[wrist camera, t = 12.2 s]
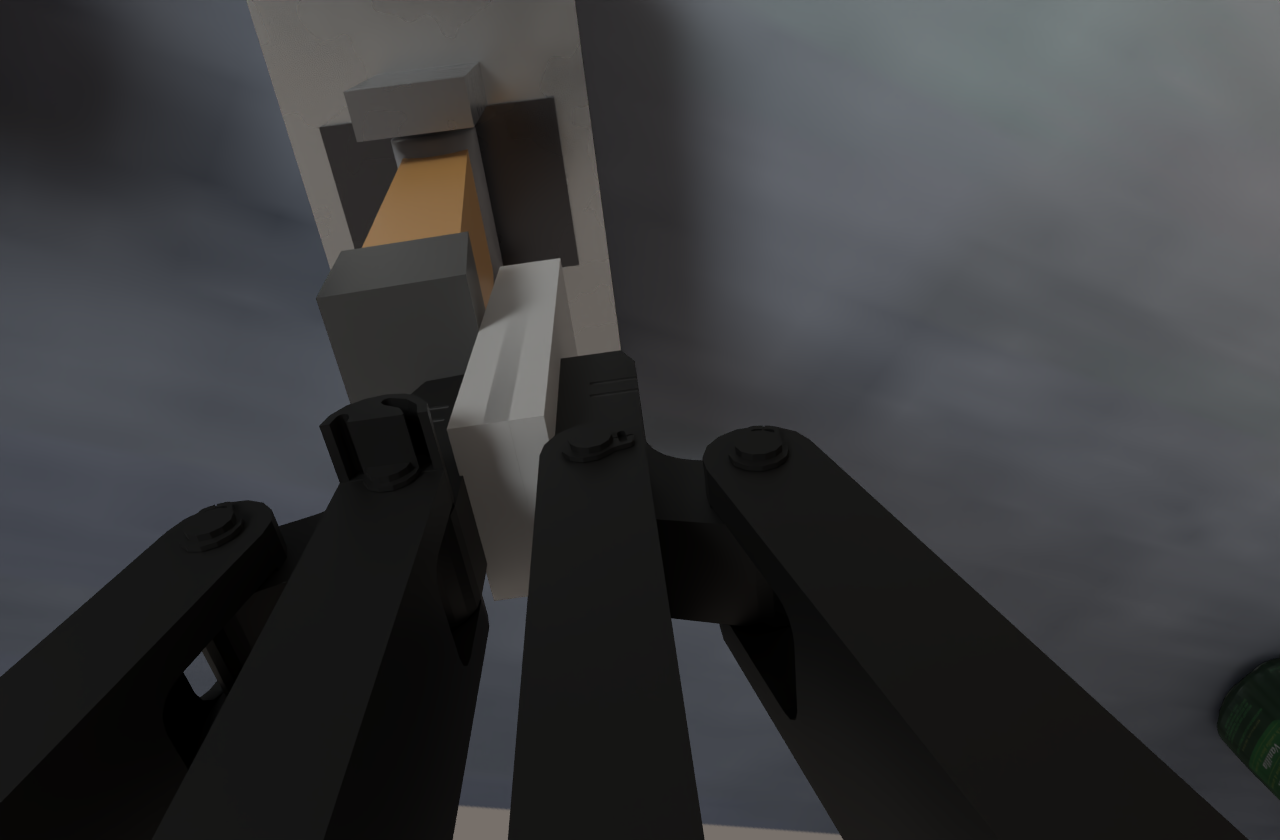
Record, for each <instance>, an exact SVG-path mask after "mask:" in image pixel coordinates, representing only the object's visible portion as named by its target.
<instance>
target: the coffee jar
mask: <svg viewBox="0 0 1280 840" xmlns="http://www.w3.org/2000/svg"><path fill="white" fill-rule="evenodd" d="M1217 728H1218V733H1219V735H1220V737H1221V739H1222V740H1223V741H1224V742H1225V743H1226V744H1227V746H1228V747H1229V748H1230V749H1231V750H1232V751H1233V752H1234V753H1235V754H1236V756H1237V757H1238V758H1239V759H1240V760H1241V761H1242V762H1243V763H1244V764H1245V765H1246V766H1247V767H1248V768H1249V770H1250V771H1251V772H1252V773H1253V774H1254V775H1255V776H1256V777H1257V778H1258V779H1259V780H1260V781H1261V782H1262V783H1263V784H1264V785H1265V786H1266V787H1267V788H1268V789H1269V790H1270V791H1271V792H1272V793H1273V794H1274V795H1275V796H1276V797H1277V798H1278V799H1279V800H1280V658H1278V659H1273V660H1270V661H1267V662H1264V663H1262V664H1261V665H1259V666H1258V667H1257V668H1255V669H1254V670H1253V671H1252V672H1251V673H1250V674H1248V675H1247V676H1246V677H1245V678H1243V679H1242V680H1241V681H1240V682H1239V683H1238V684H1236V685H1234V686H1233V687H1232V689H1231V690H1230V691H1229V693H1228V694H1227V696H1226V697H1225V699H1224V702H1223V704H1222V706H1221V709H1220V712H1219V718H1218V722H1217Z"/></svg>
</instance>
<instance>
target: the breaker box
mask: <svg viewBox="0 0 1280 840" xmlns="http://www.w3.org/2000/svg"><path fill="white" fill-rule="evenodd" d="M246 1H247V4H248V7H249V10H250V14H251V17H252V20H253V23H254V26H255V30H256V33H257V36H258V39H259V42H260V46H261V49H262V52H263V55H264V58H265V62H266V65H267V68H268V71H269V74H270V77H271V81H272V84H273V87H274V90H275V93H276V97H277V100H278V103H279V106H280V109H281V113H282V116H283V119H284V122H285V125H286V129H287V132H288V135H289V138H290V141H291V145H292V148H293V151H294V154H295V157H296V160H297V164H298V167H299V170H300V173H301V176H302V180H303V183H304V186H305V189H306V192H307V196H308V199H309V202H310V205H311V208H312V212H313V215H314V218H315V221H316V224H317V228H318V231H319V234H320V237H321V240H322V243H323V247H324V250H325V253H326V256H327V259H328V263H329V266H330V269H332V267H333V265H334V263H335V261H336V260H337V258H338V256H339V254H340V252H341V251H345V250H352V249H358V248H362V246H363V244H364V242H365V240H366V238H367V235H368V233H369V231H370V229H371V227H372V224H373V222H374V220H375V218H376V216H377V214H378V211H379V209H380V207H381V205H382V203H383V200H384V198H385V196H386V194H387V192H388V190H389V187H390V185H391V183H392V181H393V179H394V176H395V174H396V172H397V170H398V167H397V163H396V160H395V156H394V152H393V148H392V144H391V140H392V139H393V138H395V137H402V136H410V135H417V134H425V133H433V132H441V131H449V130H456V129H464V128H472V127H475V128H476V133H477V138H478V143H479V148H480V153H481V158H482V163H483V167H484V172H485V177H486V182H487V187H488V192H489V197H490V202H491V207H492V212H493V217H494V222H495V227H496V232H497V237H498V242H499V247H500V252H501V257H502V262H503V266H508V265H515V264H522V263H529V262H536V261H543V260H550V259H557V258H560V259H561V265H562V270H563V276H564V282H565V287H566V293H567V299H568V304H569V310H570V315H571V321H572V327H573V332H574V338H575V343H576V349H577V355H578V356H583V355H590V354H597V353H604V352H611V351H619V350H621V347H620V339H619V332H618V324H617V316H616V309H615V301H614V294H613V286H612V279H611V271H610V264H609V256H608V248H607V241H606V233H605V226H604V218H603V211H602V203H601V195H600V188H599V180H598V173H597V165H596V158H595V150H594V142H593V135H592V127H591V120H590V112H589V105H588V97H587V89H586V82H585V74H584V67H583V59H582V52H581V44H580V36H579V29H578V21H577V14H576V6H575V0H246Z"/></svg>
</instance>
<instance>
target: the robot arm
mask: <svg viewBox="0 0 1280 840" xmlns="http://www.w3.org/2000/svg"><path fill="white" fill-rule="evenodd" d="M319 427H320V429H321V432H322V435H323V438H324V440H325V443H326V446H327V449H328V451H329V454H330V457H331V460H332V462H333V465H334V468H335V471H336V473H337V476H338V479H339V482H340V484H339V486H338V488H337V490H336V492H335V493H334V495H333V497H332V499H331V501H330V503H329V505H328V507H327V509H326V510H325V511H324V512H322V513H319V514H316V515H313V516H310V517H307V518H304V519H301V520H297V521H294V522H291V523H288V524H285V525H281V526H278V524H277V521H276V519H275V517H274V514H273V512H272V510H271V509H270V508H269V507H268V506H266V505H265V504H264V503H261V502H255V501H249V500H247V501H237V502H225V503H220V504H217V506H215V505H213V506H210V507H207V508H204V509H202V510H200V511H199V513H197V514H195V515H192V516H190V517H188V518H186V519H184V520H183V521H181V522H180V523H179V524H177V525H176V526H174V527H173V528H171V529H170V530H169V531H167V532H166V533H165V534H164V535H163V536H161V537H160V538H159V539H158V540H157V541H156V542H154V543H153V544H152V545H151V546H150V547H149V548H148V549H146V550H145V551H144V552H143V553H142V554H141V555H140V556H138V557H137V558H136V559H135V560H134V561H133V562H132V563H130V564H129V565H128V566H127V567H126V568H125V569H124V570H122V571H121V572H120V573H119V574H118V575H117V576H116V577H114V578H113V579H112V580H111V581H110V582H109V583H108V584H106V585H105V586H104V587H103V588H102V589H101V590H100V591H98V592H97V593H96V594H95V595H94V596H93V597H92V598H90V599H89V600H88V601H87V602H86V603H85V604H84V605H82V606H81V607H80V608H79V609H78V610H77V611H76V612H74V613H73V614H72V615H71V616H70V617H69V618H68V619H66V620H65V621H64V622H63V623H62V624H61V625H59V626H58V627H57V628H56V629H55V630H54V631H53V632H51V633H50V634H49V635H48V636H47V637H46V638H45V639H43V640H42V641H41V642H40V643H39V644H38V645H37V646H35V647H34V648H33V649H32V650H31V651H30V652H29V653H27V654H26V655H25V656H24V657H23V658H22V659H21V660H19V661H18V662H17V663H16V664H15V665H14V666H13V667H11V668H10V669H9V670H8V671H7V672H6V673H5V674H3V675H2V676H1V677H0V840H453V834H454V828H455V823H456V816H457V811H458V805H459V799H460V794H461V788H462V782H463V776H464V770H465V765H466V759H467V753H468V747H469V741H470V736H471V730H472V724H473V718H474V712H475V707H476V701H477V695H478V689H479V683H480V678H481V672H482V666H483V660H484V654H485V649H486V643H487V637H488V631H489V621H488V614H487V611H486V607H485V604H484V600H483V597H482V591H483V585H484V580H485V574H486V573H487V577H488V580H489V584H490V588H491V591H492V595H493V598H494V601H496V600H503V599H511V598H518V597H525V596H528V601H527V614H526V626H525V638H524V650H523V662H522V675H521V687H520V699H519V711H518V723H517V736H516V748H515V760H514V772H513V784H512V797H511V809H510V821H509V834H508V840H704V834H703V826H702V820H701V813H700V807H699V800H698V793H697V787H696V780H695V774H694V767H693V760H692V754H691V747H690V740H689V734H688V727H687V721H686V714H685V707H684V701H683V694H682V687H681V681H680V674H679V668H678V661H677V654H676V648H675V641H674V635H673V628H672V621H671V618H674V619H683V620H692V621H701V622H710V623H719V624H720V628H721V632H722V635H723V639H724V641H725V642H726V644H727V646H728V647H729V649H730V651H731V652H732V654H733V656H734V657H735V659H736V661H737V662H738V664H739V666H740V667H741V669H742V671H743V672H744V674H745V676H746V677H747V679H748V681H749V683H750V684H751V686H752V688H753V689H754V691H755V693H756V694H757V696H758V698H759V699H760V701H761V703H762V704H763V706H764V708H765V709H766V711H767V713H768V714H769V716H770V718H771V719H772V721H773V723H774V724H775V726H776V728H777V729H778V731H779V733H780V734H781V736H782V738H783V739H784V741H785V743H786V744H787V746H788V748H789V749H790V751H791V753H792V754H793V756H794V758H795V759H796V761H797V763H798V764H799V766H800V768H801V770H802V771H803V773H804V775H805V776H806V778H807V780H808V781H809V783H810V785H811V786H812V788H813V790H814V791H815V793H816V795H817V796H818V798H819V800H820V801H821V803H822V805H823V806H824V808H825V810H826V811H827V813H828V815H829V816H830V818H831V820H832V821H833V823H834V825H835V826H836V828H837V830H838V831H839V833H840V835H841V836H842V838H843V840H1248V839H1247V838H1246V837H1245V836H1244V835H1243V834H1242V833H1241V832H1240V831H1238V830H1237V829H1236V828H1235V827H1234V826H1233V825H1232V824H1231V823H1230V822H1229V821H1227V820H1226V819H1225V818H1224V817H1223V816H1222V815H1221V814H1220V813H1219V812H1218V811H1216V810H1215V809H1214V808H1213V807H1212V806H1211V805H1210V804H1209V803H1208V802H1207V801H1206V800H1204V799H1203V798H1202V797H1201V796H1200V795H1199V794H1198V793H1197V792H1196V791H1195V790H1193V789H1192V788H1191V787H1190V786H1189V785H1188V784H1187V783H1186V782H1185V781H1184V780H1182V779H1181V778H1180V777H1179V776H1178V775H1177V774H1176V773H1175V772H1174V771H1173V770H1172V769H1170V768H1169V767H1168V766H1167V765H1166V764H1165V763H1164V762H1163V761H1162V760H1161V759H1159V758H1158V757H1157V756H1156V755H1155V754H1154V753H1153V752H1152V751H1151V750H1150V749H1148V748H1147V747H1146V746H1145V745H1144V744H1143V743H1142V742H1141V741H1140V740H1139V739H1138V738H1136V737H1135V736H1134V735H1133V734H1132V733H1131V732H1130V731H1129V730H1128V729H1127V728H1125V727H1124V726H1123V725H1122V724H1121V723H1120V722H1119V721H1118V720H1117V719H1116V718H1115V717H1113V716H1112V715H1111V714H1110V713H1109V712H1108V711H1107V710H1106V709H1105V708H1104V707H1102V706H1101V705H1100V704H1099V703H1098V702H1097V701H1096V700H1095V699H1094V698H1093V697H1091V696H1090V695H1089V694H1088V693H1087V692H1086V691H1085V690H1084V689H1083V688H1082V687H1081V686H1079V685H1078V684H1077V683H1076V682H1075V681H1074V680H1073V679H1072V678H1071V677H1070V676H1068V675H1067V674H1066V673H1065V672H1064V671H1063V670H1062V669H1061V668H1060V667H1059V666H1057V665H1056V664H1055V663H1054V662H1053V661H1052V660H1051V659H1050V658H1049V657H1048V656H1047V655H1045V654H1044V653H1043V652H1042V651H1041V650H1040V649H1039V648H1038V647H1037V646H1036V645H1034V644H1033V643H1032V642H1031V641H1030V640H1029V639H1028V638H1027V637H1026V636H1025V635H1023V634H1022V633H1021V632H1020V631H1019V630H1018V629H1017V628H1016V627H1015V626H1014V625H1013V624H1011V623H1010V622H1009V621H1008V620H1007V619H1006V618H1005V617H1004V616H1003V615H1002V614H1000V613H999V612H998V611H997V610H996V609H995V608H994V607H993V606H992V605H991V604H989V603H988V602H987V601H986V600H985V599H984V598H983V597H982V596H981V595H980V594H979V593H977V592H976V591H975V590H974V589H973V588H972V587H971V586H970V585H969V584H968V583H966V582H965V581H964V580H963V579H962V578H961V577H960V576H959V575H958V574H957V573H955V572H954V571H953V570H952V569H951V568H950V567H949V566H948V565H947V564H946V563H945V562H943V561H942V560H941V559H940V558H939V557H938V556H937V555H936V554H935V553H934V552H932V551H931V550H930V549H929V548H928V547H927V546H926V545H925V544H924V543H923V542H921V541H920V540H919V539H918V538H917V537H916V536H915V535H914V534H913V533H912V532H911V531H909V530H908V529H907V528H906V527H905V526H904V525H903V524H902V523H901V522H900V521H898V520H897V519H896V518H895V517H894V516H893V515H892V514H891V513H890V512H889V511H887V510H886V509H885V508H884V507H883V506H882V505H881V504H880V503H879V502H878V501H877V500H875V499H874V498H873V497H872V496H871V495H870V494H869V493H868V492H867V491H866V490H864V489H863V488H862V487H861V486H860V485H859V484H858V483H857V482H856V481H855V480H854V479H852V478H851V477H850V476H849V475H848V474H847V473H846V472H845V471H844V470H843V469H841V468H840V467H839V466H838V465H837V464H836V463H835V462H834V461H833V460H832V459H830V458H829V457H828V456H827V455H826V454H825V453H824V452H823V451H822V450H821V449H820V448H818V447H817V446H816V445H815V444H814V443H813V442H812V441H811V440H809V439H808V438H806V437H804V436H803V435H801V434H799V433H798V432H796V431H792V430H788V429H783V428H779V427H775V426H765V427H763V426H751V427H749V428H744V429H738V430H734V431H732V432H729V433H727V434H724V435H722V436H719V437H718V438H717V439H715V440H714V441H713V442H712V443H711V444H709V445H708V446H707V448H706V450H705V453H704V455H703V461H701V460H687V459H679V458H674V457H671V456H667V455H664V454H662V453H660V452H658V451H656V450H654V449H653V448H652V447H651V446H650V445H649V444H648V443H647V442H646V439H645V432H644V424H643V417H642V410H641V403H640V396H639V389H638V382H637V375H636V368H635V361H634V360H632V359H631V358H630V357H628V356H627V355H626V354H625V353H623V352H622V351H621V350H619V351H611V352H604V353H597V354H590V355H583V356H578V355H577V349H576V343H575V338H574V332H573V327H572V321H571V315H570V310H569V304H568V299H567V293H566V287H565V282H564V276H563V270H562V265H561V259H560V258H557V259H550V260H543V261H536V262H529V263H522V264H515V265H508V266H501V267H500V268H499V271H498V274H497V277H496V280H495V283H494V286H493V289H492V292H491V295H490V298H489V301H488V304H487V307H486V310H485V314H484V317H483V320H482V323H481V326H480V329H479V332H478V335H477V338H476V341H475V344H474V347H473V350H472V353H471V356H470V359H469V362H468V365H467V369H466V372H465V374H463V375H457V376H452V377H447V378H441V379H436V380H430V381H426V382H424V383H423V384H422V385H421V386H420V387H419V388H417V389H416V390H415V391H414V392H413V393H411V394H405V393H404V394H385V395H381V396H376V397H371V398H367V399H363V400H361V401H358V402H355V403H353V404H350V405H347V406H345V407H343V408H342V409H340V410H338V411H337V412H335V413H333V414H331V415H330V416H329V417H328V418H327V419H326V420H325V421H324V422H323V423H322V424H321V425H320V426H319ZM201 652H203V654H204V656H205V658H206V660H207V662H208V664H209V665H210V667H211V669H212V671H213V673H214V675H215V677H216V679H217V682H216V683H215V684H214V685H213V687H212V688H211V689H210V690H209V691H208V692H207V693H205V694H204V695H203V696H201V697H199V696H197V695H196V694H195V693H194V691H193V689H192V687H191V685H190V684H189V682H188V680H187V678H186V676H185V674H184V673H183V672H184V671H185V669H186V668H187V667H188V666H189V665H190V664H191V663H192V662H193V661H194V659H195V658H196V657H197V656H198V655H199V654H200V653H201Z"/></svg>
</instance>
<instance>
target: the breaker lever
mask: <svg viewBox="0 0 1280 840" xmlns="http://www.w3.org/2000/svg"><path fill="white" fill-rule="evenodd" d="M391 144H392V148H393V152H394V156H395V160H396V163H397V167H398V170H397V172H396V174H395V176H394V179H393V181H392V183H391V185H390V187H389V190H388V192H387V194H386V196H385V198H384V200H383V203H382V205H381V207H380V209H379V211H378V214H377V216H376V218H375V220H374V222H373V224H372V227H371V229H370V231H369V233H368V235H367V238H366V240H365V242H364V244H363V246H362V248H358V249H352V250H345V251H341V252H340V254H339V256H338V258H337V260H336V261H335V263H334V265H333V267H332V269H331V271H330V273H329V275H328V277H327V278H326V280H325V282H324V284H323V286H322V288H321V290H320V292H319V293H318V295H317V297H316V300H317V303H318V306H319V309H320V312H321V315H322V318H323V321H324V324H325V327H326V330H327V333H328V337H329V340H330V343H331V346H332V349H333V352H334V355H335V358H336V361H337V364H338V367H339V370H340V373H341V376H342V379H343V382H344V385H345V388H346V391H347V394H348V397H349V400H350V403H351V404H353V403H355V402H358V401H361V400H363V399H367V398H371V397H376V396H381V395H385V394H404V393H405V394H411V393H413V392H414V391H415V390H416V389H417V388H419V387H420V386H421V385H422V384H423V383H424V382H426V381H430V380H436V379H441V378H447V377H452V376H457V375H463V374H465V372H466V369H467V365H468V362H469V359H470V356H471V353H472V350H473V347H474V344H475V341H476V338H477V335H478V332H479V329H480V326H481V323H482V320H483V317H484V314H485V310H486V307H487V304H488V301H489V298H490V295H491V292H492V289H493V286H494V283H495V280H496V277H497V274H498V271H499V268H500V267H501V266H503V262H502V257H501V252H500V247H499V242H498V237H497V232H496V227H495V222H494V217H493V212H492V207H491V202H490V197H489V192H488V187H487V182H486V177H485V172H484V167H483V163H482V158H481V153H480V148H479V143H478V138H477V133H476V128H475V127H472V128H464V129H456V130H449V131H441V132H433V133H425V134H417V135H410V136H402V137H395V138H393V139H392V140H391Z"/></svg>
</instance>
